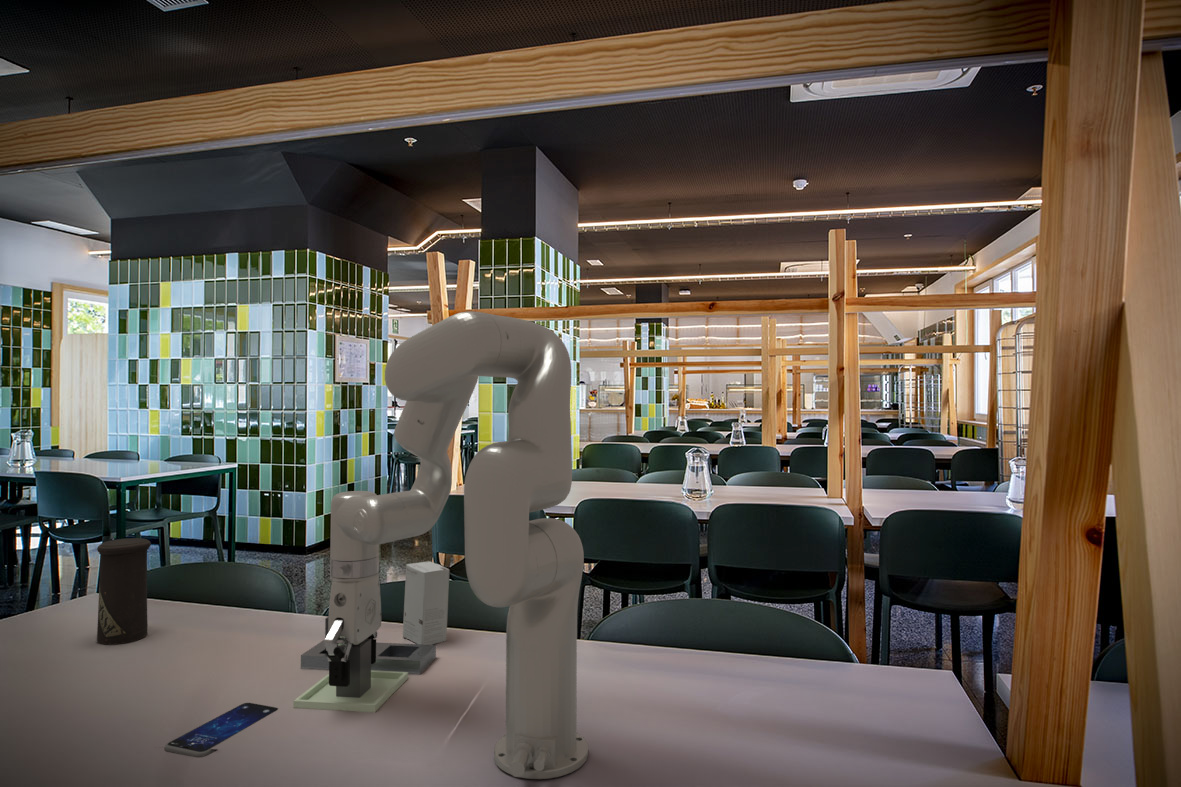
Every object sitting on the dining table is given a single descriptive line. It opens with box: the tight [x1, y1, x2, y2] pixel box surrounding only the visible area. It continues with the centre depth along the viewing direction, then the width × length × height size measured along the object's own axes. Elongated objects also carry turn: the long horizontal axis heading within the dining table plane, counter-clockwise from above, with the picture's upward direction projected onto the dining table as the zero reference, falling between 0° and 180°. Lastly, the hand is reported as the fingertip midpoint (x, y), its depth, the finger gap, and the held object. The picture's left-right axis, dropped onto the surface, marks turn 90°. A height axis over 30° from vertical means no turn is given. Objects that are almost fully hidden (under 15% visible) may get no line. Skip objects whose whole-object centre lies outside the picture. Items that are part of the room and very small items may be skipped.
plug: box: [336, 639, 371, 698], centre depth 112 cm, size 4×4×11 cm
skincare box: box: [402, 560, 450, 645], centre depth 139 cm, size 8×6×15 cm
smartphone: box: [164, 702, 279, 758], centre depth 100 cm, size 7×1×15 cm
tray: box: [292, 670, 409, 713], centre depth 112 cm, size 13×13×2 cm
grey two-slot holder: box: [300, 616, 437, 675], centre depth 125 cm, size 8×22×12 cm, turn 83°
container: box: [96, 537, 152, 645], centre depth 139 cm, size 9×9×20 cm
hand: (353, 673), depth 112 cm, fingers open, 9 cm apart
